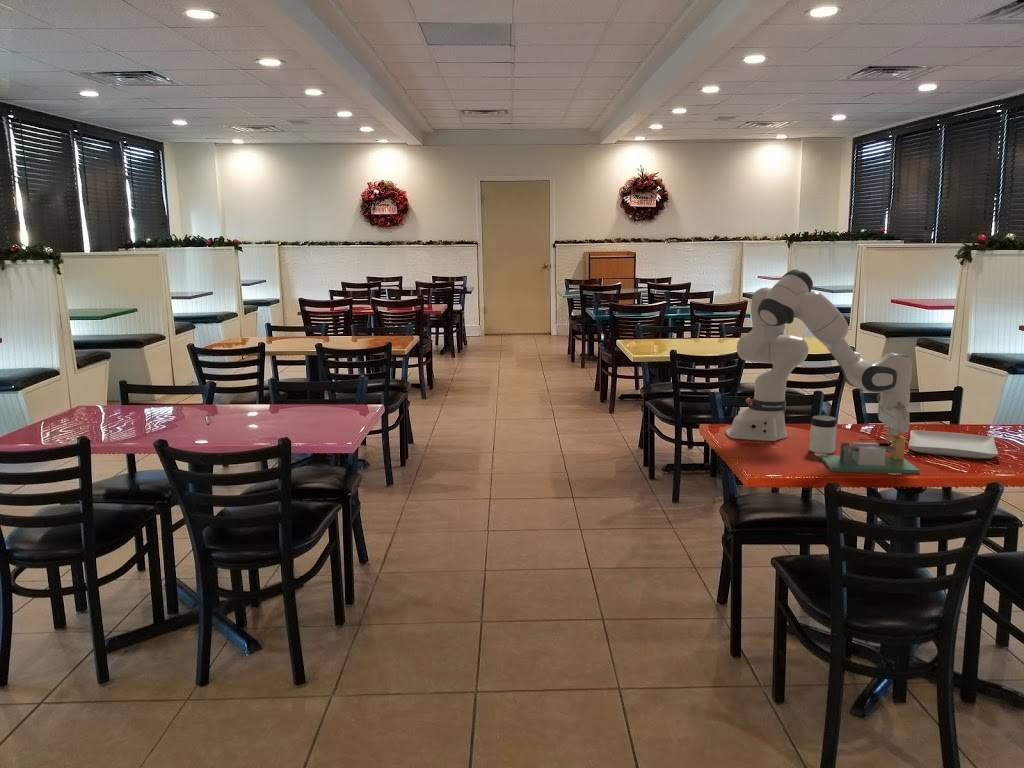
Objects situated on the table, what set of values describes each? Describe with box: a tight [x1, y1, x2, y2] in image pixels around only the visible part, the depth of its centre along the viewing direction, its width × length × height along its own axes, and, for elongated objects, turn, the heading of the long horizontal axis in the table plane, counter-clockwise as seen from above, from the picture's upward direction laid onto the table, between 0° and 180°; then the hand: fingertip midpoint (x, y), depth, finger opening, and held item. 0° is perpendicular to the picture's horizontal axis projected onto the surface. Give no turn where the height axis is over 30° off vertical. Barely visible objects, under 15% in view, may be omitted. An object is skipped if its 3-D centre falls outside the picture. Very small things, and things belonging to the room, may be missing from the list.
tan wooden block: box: [883, 434, 906, 460], centre depth 268 cm, size 6×4×7 cm
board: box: [818, 441, 921, 475], centre depth 263 cm, size 27×16×7 cm, turn 83°
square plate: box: [908, 429, 999, 460], centre depth 284 cm, size 27×27×4 cm
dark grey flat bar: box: [842, 445, 896, 453], centre depth 263 cm, size 16×3×1 cm, turn 83°
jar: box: [809, 415, 838, 455], centre depth 282 cm, size 9×8×12 cm
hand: (891, 439), depth 273 cm, fingers closed
